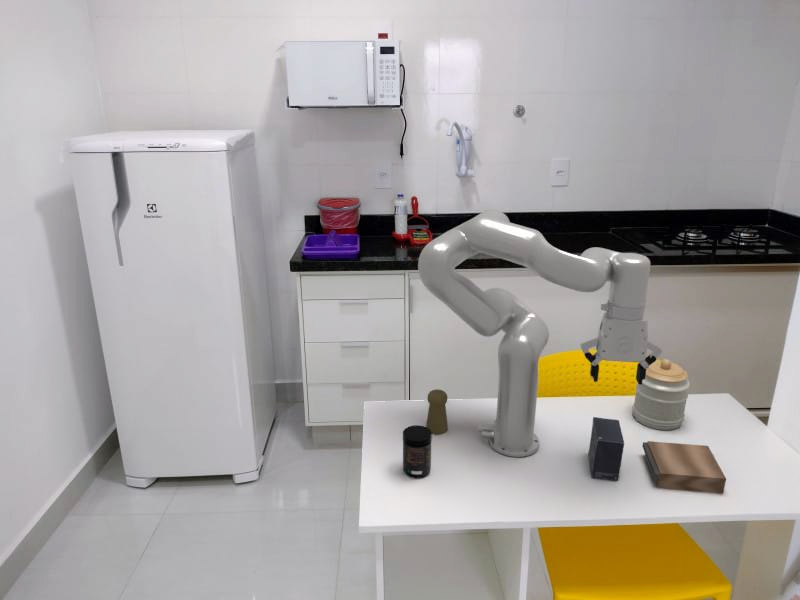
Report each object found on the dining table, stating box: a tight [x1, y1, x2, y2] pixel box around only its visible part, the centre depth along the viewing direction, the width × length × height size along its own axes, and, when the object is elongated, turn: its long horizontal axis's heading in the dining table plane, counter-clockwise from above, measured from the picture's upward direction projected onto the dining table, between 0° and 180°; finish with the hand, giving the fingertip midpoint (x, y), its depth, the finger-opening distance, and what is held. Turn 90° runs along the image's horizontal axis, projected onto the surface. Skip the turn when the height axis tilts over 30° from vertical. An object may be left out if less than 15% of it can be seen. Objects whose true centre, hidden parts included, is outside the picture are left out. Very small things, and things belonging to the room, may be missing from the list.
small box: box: [587, 416, 625, 482], centre depth 148 cm, size 11×6×10 cm, turn 168°
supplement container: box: [402, 424, 433, 479], centre depth 146 cm, size 7×7×10 cm
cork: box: [425, 389, 449, 436], centre depth 163 cm, size 6×6×11 cm
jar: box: [632, 358, 691, 431], centre depth 167 cm, size 13×13×18 cm
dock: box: [641, 440, 727, 494], centre depth 146 cm, size 15×13×4 cm
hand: (616, 380), depth 142 cm, fingers open, 9 cm apart
